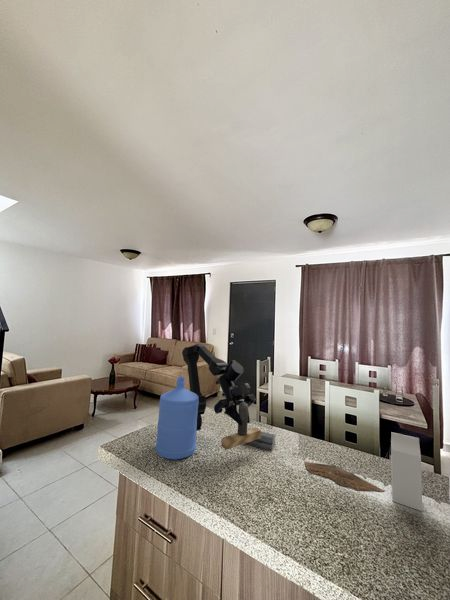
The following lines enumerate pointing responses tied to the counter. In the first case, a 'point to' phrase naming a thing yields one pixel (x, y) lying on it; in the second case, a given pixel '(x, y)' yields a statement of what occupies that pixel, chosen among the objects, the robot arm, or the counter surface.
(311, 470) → the wooden fragment
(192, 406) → the water jug
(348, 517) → the counter surface
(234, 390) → the robot arm
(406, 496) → the milk carton
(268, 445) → the ridge stand
